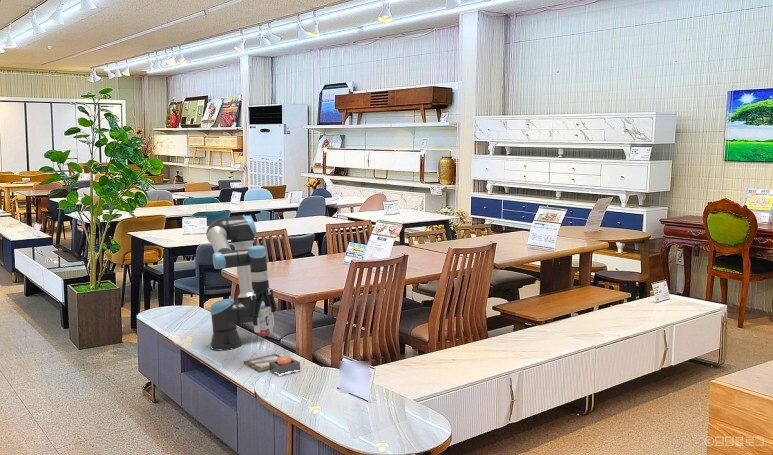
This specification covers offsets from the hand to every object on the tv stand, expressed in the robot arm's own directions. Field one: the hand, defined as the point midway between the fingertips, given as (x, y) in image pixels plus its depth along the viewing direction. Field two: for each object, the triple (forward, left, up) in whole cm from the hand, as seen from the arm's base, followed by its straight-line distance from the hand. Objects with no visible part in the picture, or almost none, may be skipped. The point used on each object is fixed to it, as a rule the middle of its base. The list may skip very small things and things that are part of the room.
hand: (264, 329), depth 308 cm
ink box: (0, 0, -2) cm, 2 cm away
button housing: (+6, +15, -16) cm, 23 cm away
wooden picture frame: (0, 0, -16) cm, 16 cm away
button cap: (+6, +15, -14) cm, 21 cm away
